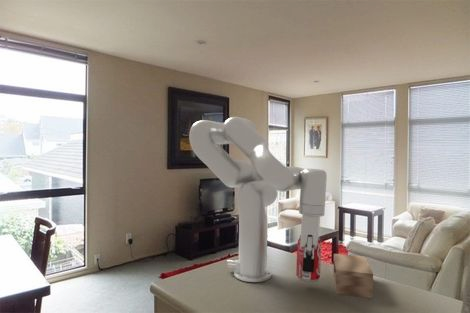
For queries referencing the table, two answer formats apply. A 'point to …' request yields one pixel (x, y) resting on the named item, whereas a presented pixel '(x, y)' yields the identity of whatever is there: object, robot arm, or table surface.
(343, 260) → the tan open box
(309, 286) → the table surface
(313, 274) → the soda can
